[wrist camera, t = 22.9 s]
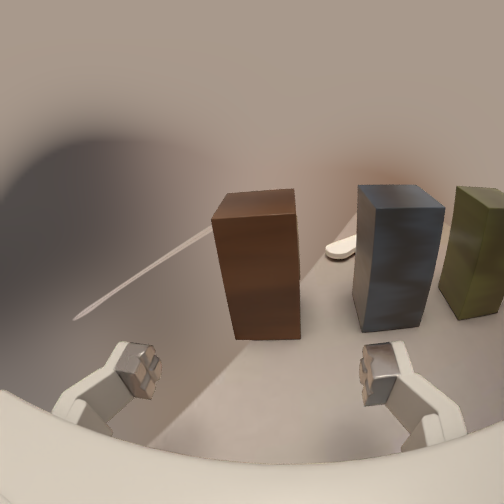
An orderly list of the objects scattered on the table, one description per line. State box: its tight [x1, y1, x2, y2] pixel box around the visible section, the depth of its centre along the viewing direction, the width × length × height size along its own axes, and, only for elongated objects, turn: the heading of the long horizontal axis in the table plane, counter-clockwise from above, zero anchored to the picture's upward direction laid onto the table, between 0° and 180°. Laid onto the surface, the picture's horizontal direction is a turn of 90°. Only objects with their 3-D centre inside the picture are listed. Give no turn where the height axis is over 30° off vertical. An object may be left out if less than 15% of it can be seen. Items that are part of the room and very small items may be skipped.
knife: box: [326, 234, 357, 259], centre depth 34 cm, size 26×4×1 cm, turn 115°
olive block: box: [438, 186, 504, 320], centre depth 19 cm, size 5×5×10 cm
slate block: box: [352, 185, 445, 332], centre depth 20 cm, size 5×5×10 cm
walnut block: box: [211, 189, 301, 340], centre depth 21 cm, size 5×5×10 cm
